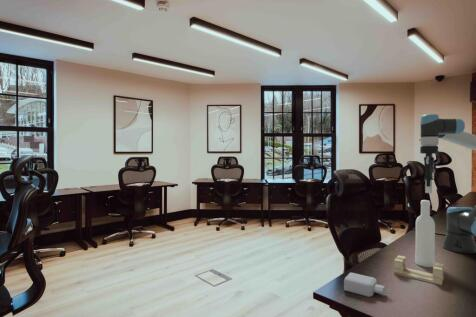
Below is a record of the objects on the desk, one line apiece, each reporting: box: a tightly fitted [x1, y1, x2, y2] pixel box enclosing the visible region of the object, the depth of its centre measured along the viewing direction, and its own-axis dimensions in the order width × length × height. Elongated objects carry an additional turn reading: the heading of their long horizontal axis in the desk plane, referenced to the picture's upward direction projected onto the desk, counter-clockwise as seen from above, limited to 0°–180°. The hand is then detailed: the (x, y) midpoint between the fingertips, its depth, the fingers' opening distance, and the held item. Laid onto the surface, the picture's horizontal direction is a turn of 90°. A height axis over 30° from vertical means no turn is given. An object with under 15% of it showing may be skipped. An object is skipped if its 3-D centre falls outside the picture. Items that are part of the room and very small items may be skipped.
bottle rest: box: [393, 255, 445, 286], centre depth 126 cm, size 8×17×6 cm, turn 51°
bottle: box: [414, 199, 436, 268], centre depth 139 cm, size 8×8×30 cm
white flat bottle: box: [343, 272, 392, 298], centre depth 111 cm, size 5×9×15 cm
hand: (428, 192), depth 149 cm, fingers closed
